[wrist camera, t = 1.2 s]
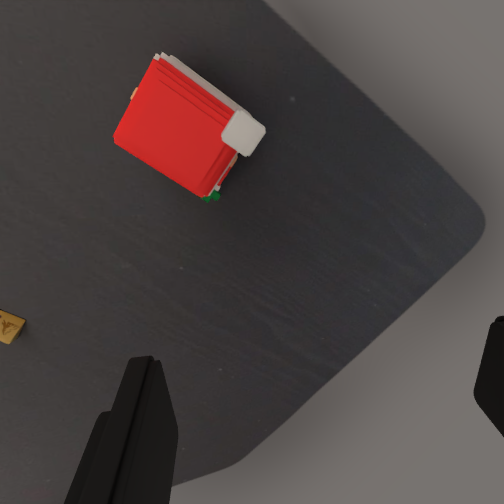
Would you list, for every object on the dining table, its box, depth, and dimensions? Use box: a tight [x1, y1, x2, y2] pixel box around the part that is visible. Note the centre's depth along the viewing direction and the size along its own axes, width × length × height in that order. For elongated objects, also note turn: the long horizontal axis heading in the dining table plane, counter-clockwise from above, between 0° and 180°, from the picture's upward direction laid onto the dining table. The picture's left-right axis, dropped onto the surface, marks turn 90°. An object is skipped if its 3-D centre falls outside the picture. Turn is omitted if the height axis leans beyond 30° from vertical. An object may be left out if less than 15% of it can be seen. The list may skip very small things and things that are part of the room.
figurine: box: [113, 52, 266, 203], centre depth 22 cm, size 8×7×12 cm
